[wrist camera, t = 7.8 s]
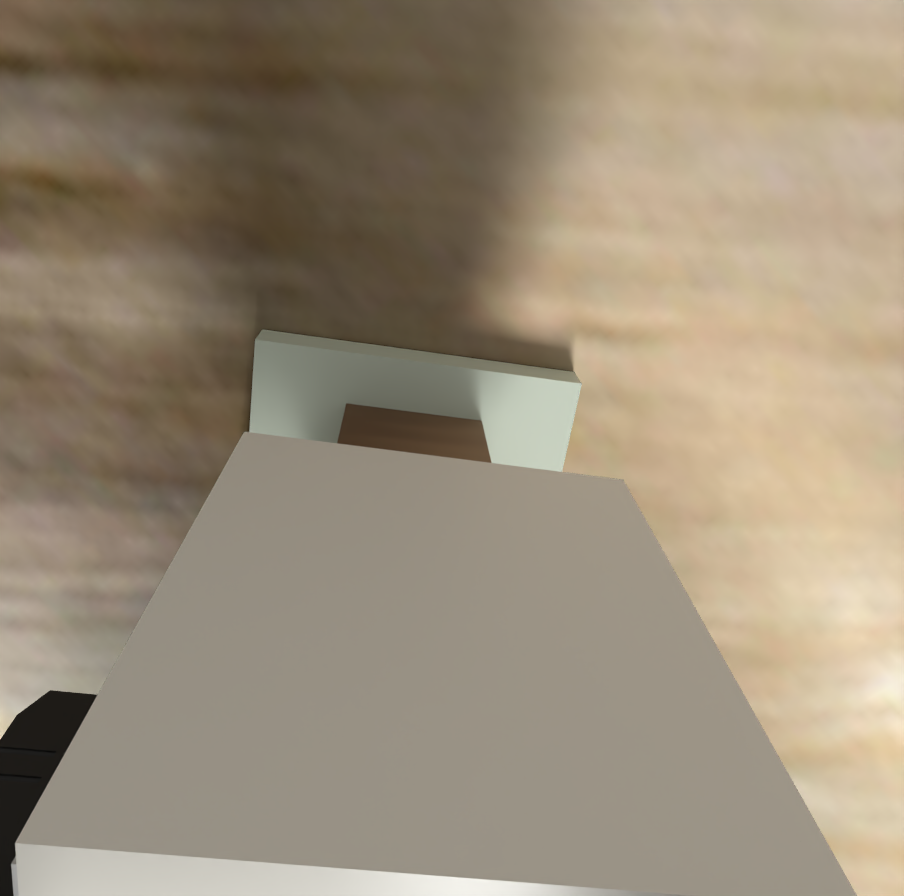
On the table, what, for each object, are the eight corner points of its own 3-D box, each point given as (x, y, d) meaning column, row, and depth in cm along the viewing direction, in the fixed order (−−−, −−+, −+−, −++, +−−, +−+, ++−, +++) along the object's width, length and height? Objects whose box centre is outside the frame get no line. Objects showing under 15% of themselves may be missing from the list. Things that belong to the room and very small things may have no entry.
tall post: (333, 524, 21) (289, 745, 14) (346, 403, 20) (306, 573, 12) (460, 539, 21) (486, 762, 14) (481, 420, 20) (522, 597, 13)
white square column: (226, 737, 15) (48, 1307, 8) (244, 431, 13) (15, 843, 6) (549, 766, 16) (659, 1321, 9) (622, 479, 14) (865, 908, 6)
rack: (229, 832, 26) (180, 1023, 21) (262, 329, 20) (204, 410, 14) (469, 850, 27) (484, 1039, 21) (574, 372, 21) (633, 464, 15)
